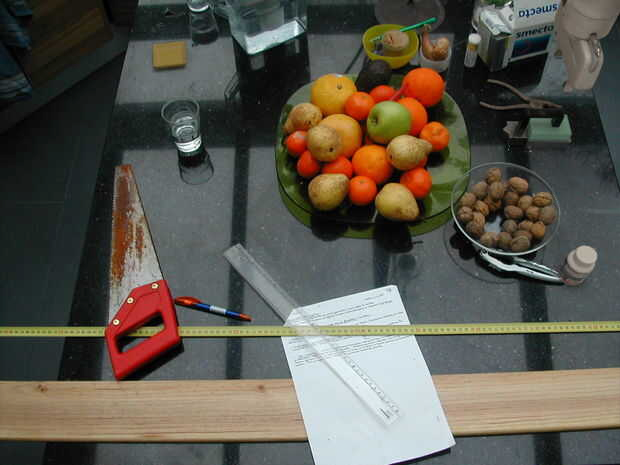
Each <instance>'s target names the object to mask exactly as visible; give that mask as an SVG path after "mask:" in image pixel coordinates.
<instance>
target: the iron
mask: <svg viewBox="0 0 620 465" xmlns="http://www.w3.org/2000/svg"><path fill="white" fill-rule="evenodd" d="M518 119H519V120H518V121H513V120H512V121H511V120H509V121H508V120H506V122H505V125H504V127H503V128H502V130H501V133H500V135H499V138H500V139H501V140H503V141H504V142H505V146H510V147H511V146H512V147H515V146H516V147H517V146H520V147H523V149H524V150H552V151H553V150H555V151H556V150H557V151H558V150H560V151H561V150H562V151H567V149H568V148H569V147H570V144H571V143H572V139H571V137H572V135H573V134H572V130H571V126H570V122H569V117H568V114H566V112H565V110H564V109H563V108H562V109H554V108H544V109H538V108H528V109H523V110H522V112H521V114H520V117H519V118H518Z"/></svg>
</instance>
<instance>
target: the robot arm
mask: <svg viewBox="0 0 620 465" xmlns="http://www.w3.org/2000/svg"><path fill="white" fill-rule="evenodd" d="M619 15H620V0H560V2H559V4H558V5H557V9H556V12H555V15H554V19H553V20H554V22H553V24H554V29H555V31H556V32H555V33H556V36H557V38H556V45H555V49H554V52H553V55H554V59H555V60H563V61H564V65H565V69H566V73H567V76H568V80H565V79H564V80H563V83H562V85H561V86H562V90H563V92H564V93H571V92H573V90H579V91H584V90H586V91H587V90H590V89H592V88H593V87H594V85H595V83H596V81H597V79H598V77H599V74H600V72H601V69H602V66H603V64H604V52H603V50H602V47H601V42H600V41H599V40H602V39H603V38H605V37H606V36H608V35H609V33H610V31H611V29H612V28H613V26H614V24H615V22H616V20H617V18H618V16H619ZM618 35H619V36H620V23H619V24H618Z"/></svg>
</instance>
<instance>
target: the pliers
mask: <svg viewBox="0 0 620 465" xmlns="http://www.w3.org/2000/svg"><path fill="white" fill-rule="evenodd" d="M486 82H487V83H492V84H497V85H500V86H503V87H505V88H507V89H509V90H510V91H511V92H512V93H514V94H515V95H516V96H518V97H519V98H520V99H522V100H523V101H524V102H527V103H522V104H521V103H520V104H513V105H506V106H497V105H492V104H488V103H485V102H483V101H480V102H479V105H480V106H483V107H485V108H489V109H492V110H497V111H508V110H520V109H523V110H525V109H528V108H538V109H545V108H544V107H547V109H563V108H564V107H563V106H562V105H559V104H557V103H554V102H550V101H547V100H544V99H543V100H542V99H537V98H534V97H529V96H527V95H526V94H524V93H522V92H520V90H518V89H517V88H515V87H513V86H512V85H511V84H508V83H506V82H503V81H500V80H496V79H487V81H486Z"/></svg>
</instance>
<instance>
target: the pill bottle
mask: <svg viewBox="0 0 620 465" xmlns="http://www.w3.org/2000/svg"><path fill="white" fill-rule="evenodd" d="M597 260H598V254H597V251H596V249H594V248H593V247H591V246H588V245H581V246H579V247H577V248H576V249H573V250H572V251H570V252H569V253H568V255H567V256H566V257H565V258H564V260H562V262H561V263H560V265H559V266H558V268H557V274H558V273H559V275H560V277H561V278H562V280H561V282H563V283H564V284H566V285H568V286H577V285H580V284H581V283H582V282H583V281H584V280H585V279H586V278H587V277H588V275H589V274H590V273H591V272H592V271H593V270H594V268H595V266H596V262H597ZM559 275H558V276H559ZM560 277H559V278H560Z"/></svg>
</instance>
